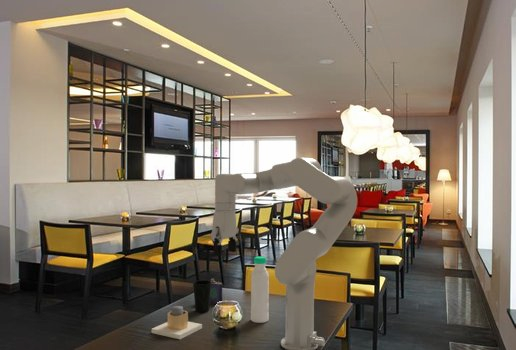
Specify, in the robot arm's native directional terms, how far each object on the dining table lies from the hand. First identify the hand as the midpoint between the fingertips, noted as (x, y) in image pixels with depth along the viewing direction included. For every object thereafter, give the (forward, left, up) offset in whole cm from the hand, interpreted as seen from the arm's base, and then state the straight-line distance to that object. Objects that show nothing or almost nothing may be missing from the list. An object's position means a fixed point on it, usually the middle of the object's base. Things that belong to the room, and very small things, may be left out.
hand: (225, 253), depth 169 cm
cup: (+21, -15, -28) cm, 38 cm away
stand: (+15, +9, -28) cm, 33 cm away
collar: (+15, +9, -27) cm, 32 cm away
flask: (+24, -27, -29) cm, 46 cm away
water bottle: (-6, -16, -28) cm, 33 cm away
